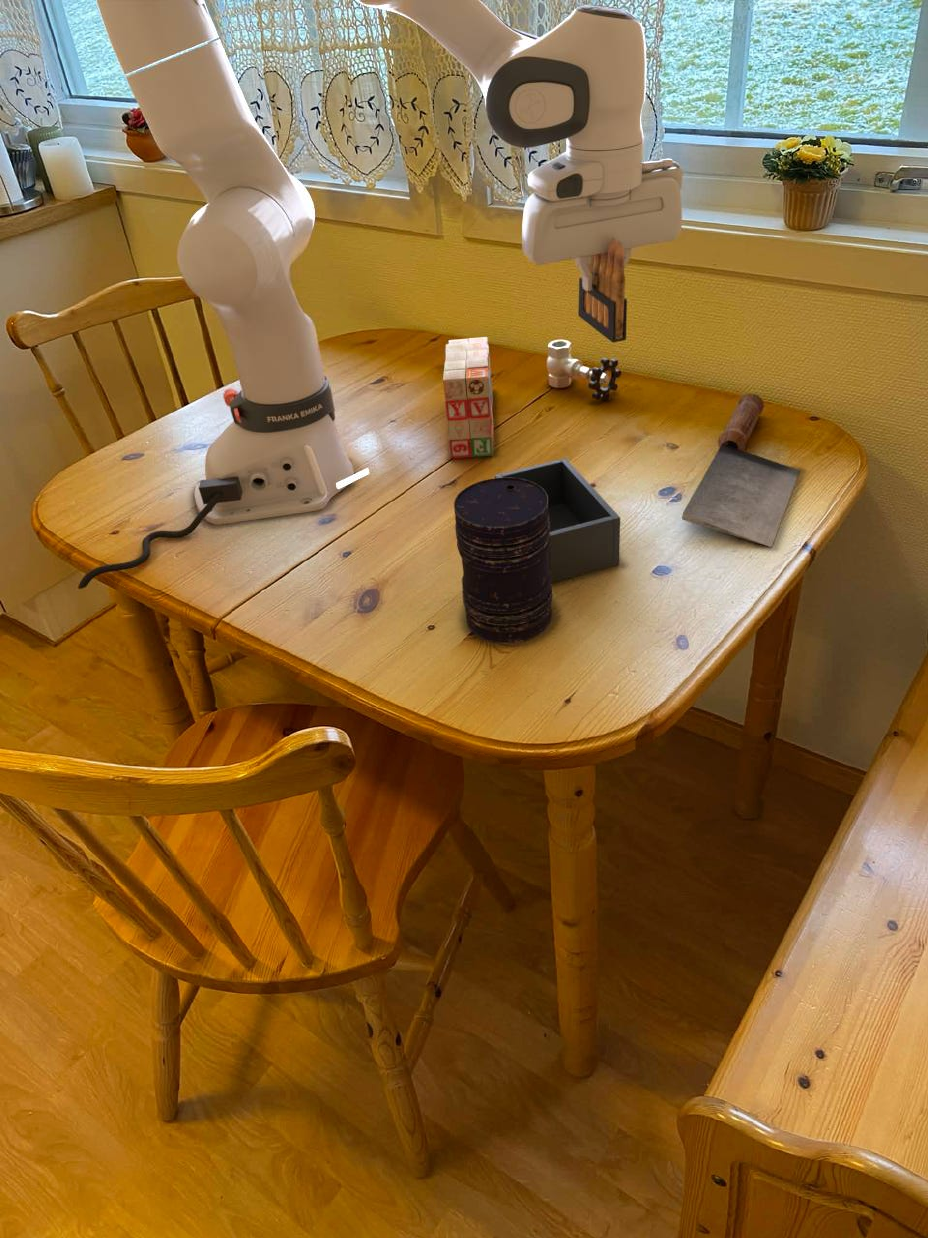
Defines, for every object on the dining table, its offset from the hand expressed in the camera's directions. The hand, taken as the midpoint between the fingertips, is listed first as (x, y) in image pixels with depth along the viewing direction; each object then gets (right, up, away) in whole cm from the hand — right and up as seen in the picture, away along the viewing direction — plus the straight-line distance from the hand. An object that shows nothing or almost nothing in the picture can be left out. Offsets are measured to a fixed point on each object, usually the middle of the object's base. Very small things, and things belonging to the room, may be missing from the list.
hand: (601, 286), depth 117 cm
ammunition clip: (0, -4, +3) cm, 5 cm away
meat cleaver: (+21, -23, +6) cm, 31 cm away
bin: (-6, -33, -3) cm, 33 cm away
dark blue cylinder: (-12, -42, -14) cm, 46 cm away
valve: (+1, -6, +30) cm, 30 cm away
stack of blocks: (-16, -13, +24) cm, 31 cm away
